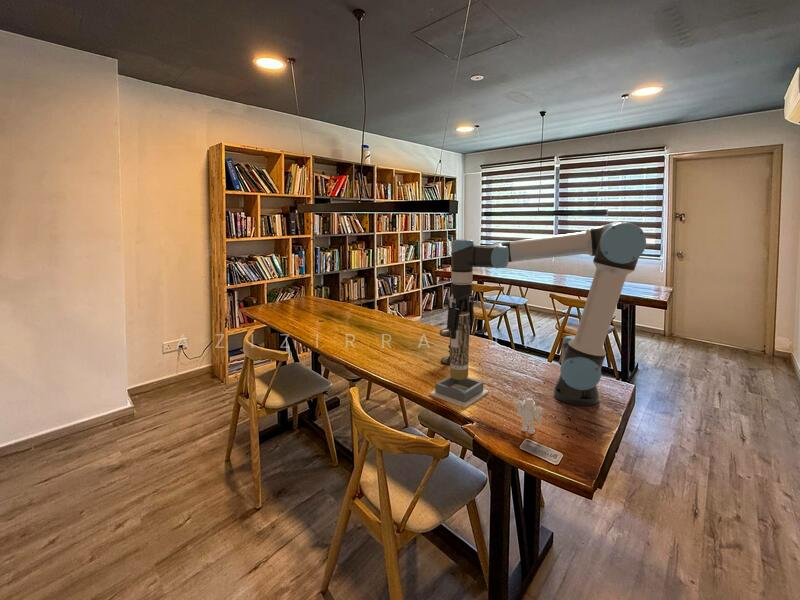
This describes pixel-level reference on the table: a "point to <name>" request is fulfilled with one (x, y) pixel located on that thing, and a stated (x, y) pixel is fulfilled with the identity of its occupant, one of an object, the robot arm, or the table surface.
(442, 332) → the candlestick
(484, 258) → the robot arm
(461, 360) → the paper tube
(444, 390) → the collar stand
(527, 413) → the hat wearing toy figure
